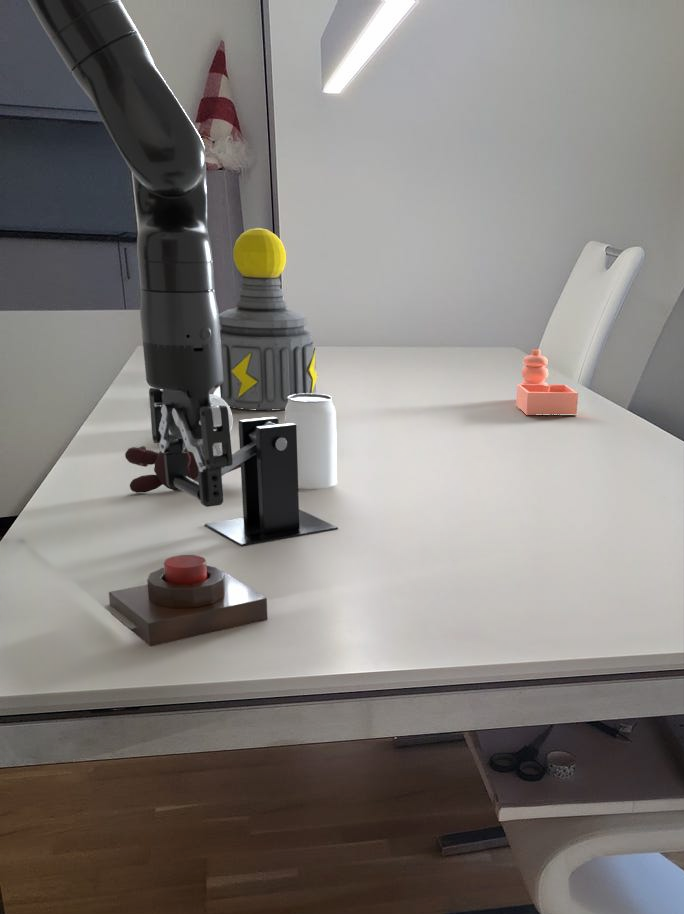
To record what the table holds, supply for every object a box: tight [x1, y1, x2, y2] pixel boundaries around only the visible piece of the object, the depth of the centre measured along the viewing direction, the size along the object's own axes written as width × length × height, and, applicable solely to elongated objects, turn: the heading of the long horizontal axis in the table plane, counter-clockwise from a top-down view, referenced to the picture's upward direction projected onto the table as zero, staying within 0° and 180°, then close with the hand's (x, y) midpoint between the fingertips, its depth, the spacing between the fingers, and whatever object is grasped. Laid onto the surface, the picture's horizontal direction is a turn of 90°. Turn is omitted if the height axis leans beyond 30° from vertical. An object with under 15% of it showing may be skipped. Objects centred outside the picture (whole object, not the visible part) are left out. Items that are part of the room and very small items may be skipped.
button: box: [163, 554, 207, 584], centre depth 92 cm, size 4×4×2 cm
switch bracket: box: [204, 416, 339, 547], centre depth 114 cm, size 12×9×13 cm
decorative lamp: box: [219, 227, 319, 410], centre depth 185 cm, size 19×19×30 cm
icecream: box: [124, 445, 241, 494], centre depth 131 cm, size 7×7×15 cm
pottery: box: [515, 348, 579, 416], centre depth 196 cm, size 18×10×10 cm, turn 10°
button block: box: [108, 565, 268, 647], centre depth 93 cm, size 11×9×4 cm
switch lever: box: [174, 422, 277, 501], centre depth 111 cm, size 12×6×2 cm, turn 129°
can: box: [284, 393, 338, 490], centre depth 133 cm, size 6×6×12 cm
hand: (194, 495), depth 109 cm, fingers open, 8 cm apart
